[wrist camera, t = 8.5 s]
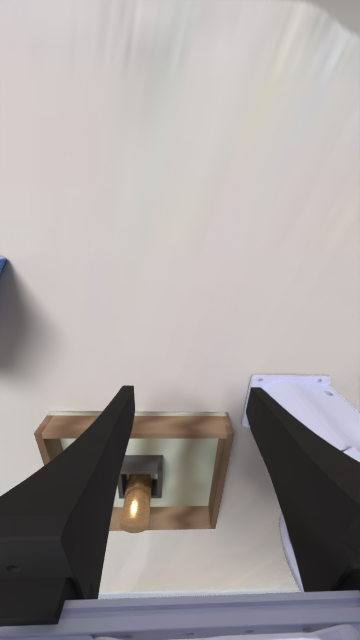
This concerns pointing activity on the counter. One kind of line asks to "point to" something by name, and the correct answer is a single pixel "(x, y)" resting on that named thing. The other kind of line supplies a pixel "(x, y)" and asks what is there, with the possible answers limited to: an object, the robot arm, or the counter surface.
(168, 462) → the walled box
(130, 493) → the bronze metal cylinder
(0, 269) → the medicine box
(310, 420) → the robot arm
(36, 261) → the counter surface
